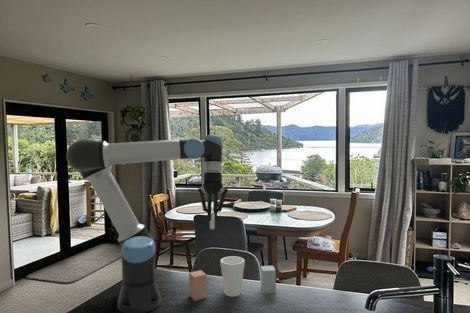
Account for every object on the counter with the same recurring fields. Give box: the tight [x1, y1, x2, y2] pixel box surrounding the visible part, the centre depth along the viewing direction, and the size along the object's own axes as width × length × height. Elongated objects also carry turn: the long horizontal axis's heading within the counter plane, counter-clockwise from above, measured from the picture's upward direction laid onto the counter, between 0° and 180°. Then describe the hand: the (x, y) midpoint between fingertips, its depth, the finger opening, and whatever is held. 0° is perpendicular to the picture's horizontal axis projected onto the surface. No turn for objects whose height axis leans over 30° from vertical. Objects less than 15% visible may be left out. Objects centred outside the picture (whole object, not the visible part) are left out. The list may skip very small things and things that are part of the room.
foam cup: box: [219, 255, 246, 298], centre depth 128 cm, size 10×9×13 cm
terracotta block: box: [188, 269, 208, 302], centre depth 125 cm, size 5×5×9 cm
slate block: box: [260, 265, 277, 294], centre depth 130 cm, size 5×5×9 cm
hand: (212, 228), depth 136 cm, fingers closed
